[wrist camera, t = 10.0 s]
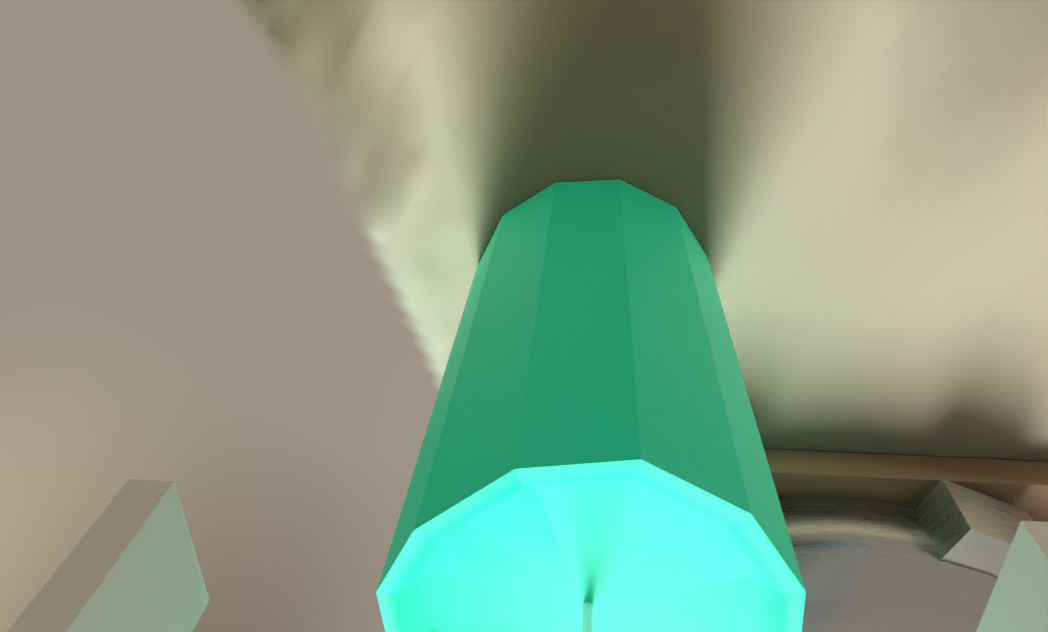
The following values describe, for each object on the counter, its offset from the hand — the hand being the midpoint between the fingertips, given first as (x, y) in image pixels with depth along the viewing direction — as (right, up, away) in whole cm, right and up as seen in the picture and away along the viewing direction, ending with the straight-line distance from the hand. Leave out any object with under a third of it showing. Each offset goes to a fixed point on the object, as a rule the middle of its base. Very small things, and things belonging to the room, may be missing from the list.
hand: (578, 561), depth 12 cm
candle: (+1, +5, +8) cm, 9 cm away
